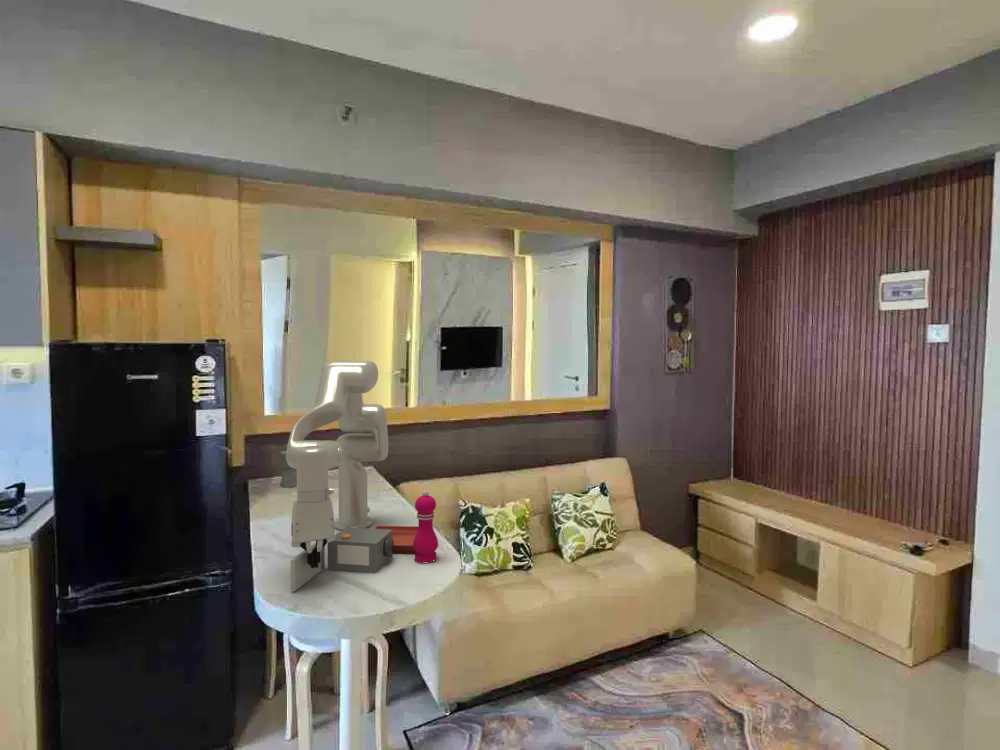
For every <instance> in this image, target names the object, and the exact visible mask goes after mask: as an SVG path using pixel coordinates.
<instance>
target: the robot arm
mask: <svg viewBox="0 0 1000 750" xmlns="http://www.w3.org/2000/svg"><path fill="white" fill-rule="evenodd" d="M320 372H321V373H320V378H319V382H318V386H317V392H316V395H315V396H316V397H315V401H314V406H313V407H312V408H311V409H309V410H307V412H305V413H304V414H303V415H302V416H301V417H300V418H299V419H298V420H297V421H296V422H295V423H294V425H293V426H292V428H291V430H290V434H289V438H288V442H287V445H286V450H287V451H286V450H285V451H286V461H287V463H288V465H289V466H290V467H291V468H294V469H297V487H296V500H294V501H293V504H292V510H291V522H290V523H291V524H290V529H291V530H290V531H291V532H290V533H291V534H290V535H291V537H292V538H291V542H290V545H291V547H292V548H301V549H302V550H303V551H306V552H307V563H308V565H309V564H310V566H311V568H315V567H316V568H318V563H320V551H321V550H322V548H323V547H324V546H325V547H326V545H328V543H329V542H332V541H334V540H335V535H336V534H335V533H336V529H337V530H339V531H342V530H343V529H345V528H346V527H354V528H368V527H371V526H372V525H373V520H372V519H371V518H369V517H368V513H370V511H371V508H370V507H368V472H367V470H366V468H365V467H364V465H363V464H362V462H381V461H385V460H386V458H388V455H389V434H388V432H389V431H388V419H387V412H386V409H385V408H384V406H383V405H382V404H377V403H364V402H363V401H364V399H363V394H365V393H366V394H367V393H369V392H370V391H371V390H372V389H373V388H374V387H375V386H376V385H377V383H378V379H379V369H378V366H377V365H376V363H375V362H374V361H372V360H371V361H370V360H330V361H326V362H324V363H322V366H321V369H320ZM336 421H337V423H338V427H339V429H340V430H341V431H342V432H346V433H345V434H342V435H340V436H339V437H338V438H337V439H336V440H318V439H317V440H314V439H313V440H308V439H307V440H305V438H306V437H307V436H308V435H309V434H310V433H313V431H315V430H317V429H320V428H322V427H325V426H327V425H329V424H332V423H334V422H336ZM337 467H338V469H337V470H338V519H337V520H336V521H335V515H334V514H335V513H334V508H333V503H332V502H333V501H332V498H331V497H330V495H332V494H335V489H334V488H333V487H329V471H330V470H333V469H335V468H337ZM314 541H315V542H314ZM311 542H314V544H315V547H314V550H313V549H312V547H311V546H312V543H311Z"/></svg>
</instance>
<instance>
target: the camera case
mask: <svg viewBox="0 0 1000 750" xmlns="http://www.w3.org/2000/svg"><path fill="white" fill-rule="evenodd" d="M334 535H335V540H334V541H332V542H329V543H327V570H330V571H341V572H342V571H343V572H344V571H345V572H355V571H357V572H358V573H371V574H377V573H378V572H379V571H381V569H382V568H383V567H384V566H385V565H386V564H387V563H388V562H389V561H390V560H391V559H392V558H393V554H394V552H393V549H394V541H393V539H392V530H387V529H375V528H372V527H371V528H368V527H367V528H354V527H346V528H345V529H343V530H340V531H339V532H337V533H336V534H334ZM357 572H356V573H357Z"/></svg>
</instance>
